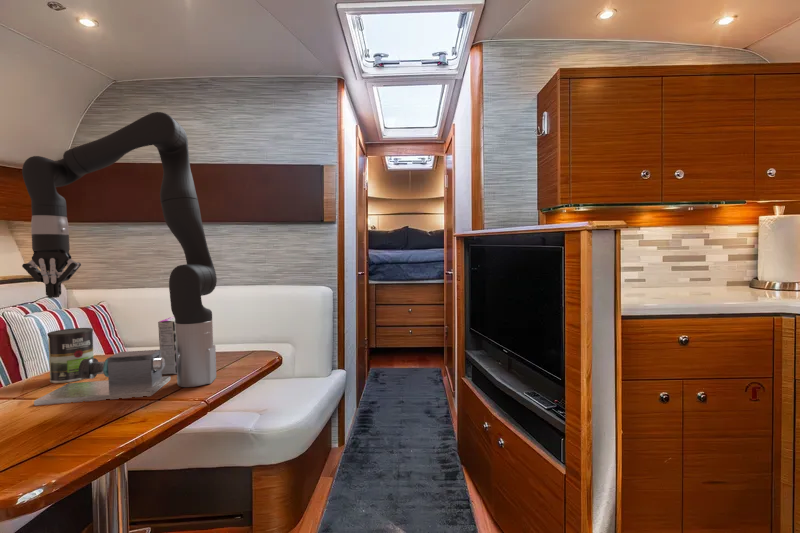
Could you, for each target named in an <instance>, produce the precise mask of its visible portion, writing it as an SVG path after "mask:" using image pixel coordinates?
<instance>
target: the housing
mask: <svg viewBox="0 0 800 533" xmlns="http://www.w3.org/2000/svg"><path fill="white" fill-rule="evenodd" d="M107 358H108V377H107V378H108V379H107V380H96V381H82V382H80V381H79V382H67V383H66V384H64V385H63V386H60V387H59V388H57V389H55V390H52V391H50V392H49V393H46V394H45V395H43V396H40V397H39V398H37V399H35V400H33V404H34V405H33V406H49V405H59V404H60V405H61V404H71V402H73V403H83V401H85V402H95V401H107V400H106V399H110V400H119V398H122V399H130V398H131V399H133V398H132V397H135V398H144V397H143V396H147V397H152V396H153V395H154V394H155V393H157V392H158V391H159V390H160V389H161V388H163V387H164V386H165V385H167V383H169V382H170V381H171V375H162V370H153V358H161V350H160V349H150V350H149V349H147V350H146V349H145V350H131V351H129V350H128V351H120V352H117V353H115V354H113V355H111V356H109V357H107Z"/></svg>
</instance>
